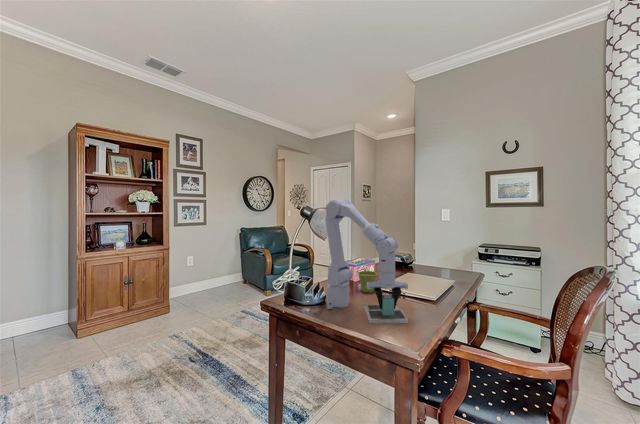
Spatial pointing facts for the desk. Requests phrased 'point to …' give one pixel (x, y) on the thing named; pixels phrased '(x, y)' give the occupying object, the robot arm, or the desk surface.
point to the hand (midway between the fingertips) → (387, 307)
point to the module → (387, 305)
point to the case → (386, 317)
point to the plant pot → (366, 279)
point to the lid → (374, 307)
